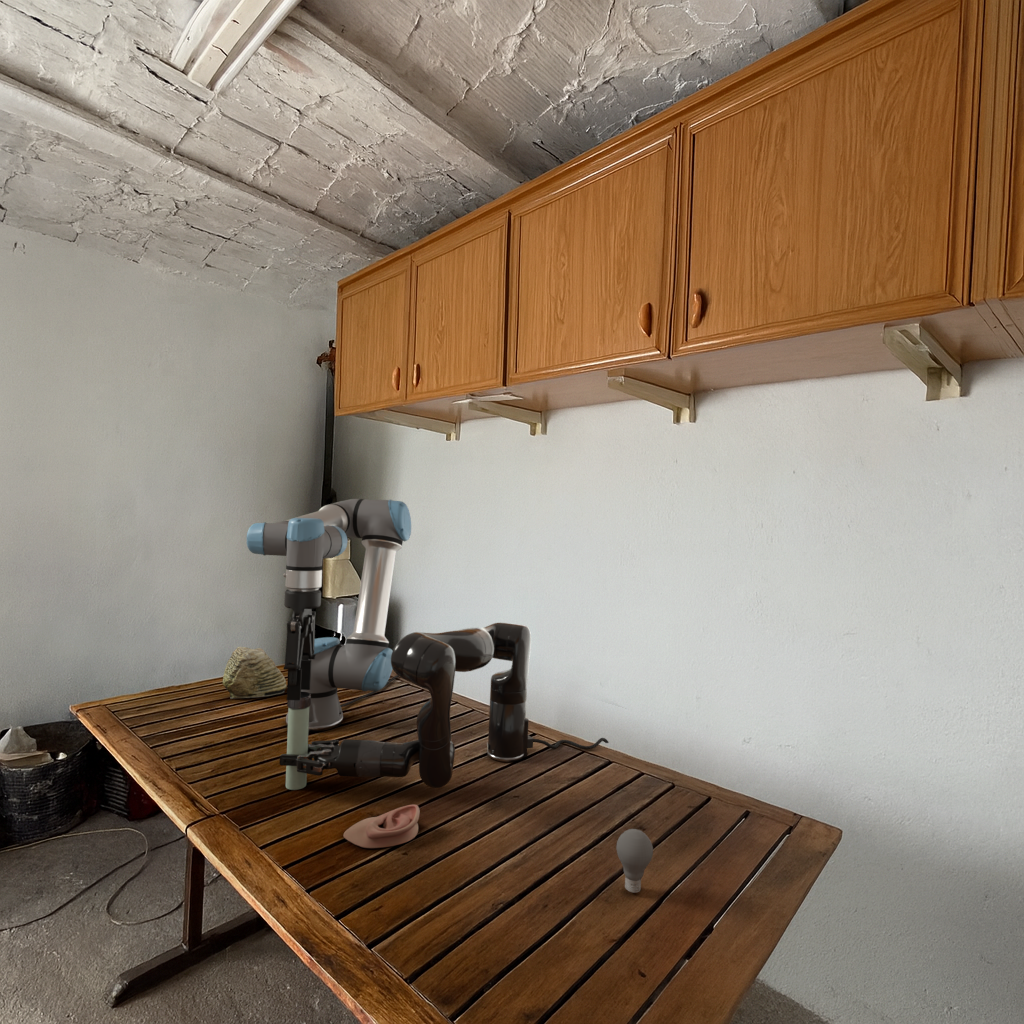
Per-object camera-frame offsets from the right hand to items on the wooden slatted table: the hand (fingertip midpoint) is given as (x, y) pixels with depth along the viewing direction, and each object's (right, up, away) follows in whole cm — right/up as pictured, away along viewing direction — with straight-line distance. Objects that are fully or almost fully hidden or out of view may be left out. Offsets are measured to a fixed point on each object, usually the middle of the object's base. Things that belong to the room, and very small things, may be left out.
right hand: (284, 755), depth 138 cm
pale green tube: (+2, -7, 0) cm, 7 cm away
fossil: (-31, -4, +60) cm, 67 cm away
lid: (+3, +13, 0) cm, 13 cm away
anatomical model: (+25, -8, -18) cm, 32 cm away
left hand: (+3, +13, 0) cm, 14 cm away
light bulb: (+70, -10, -33) cm, 78 cm away
